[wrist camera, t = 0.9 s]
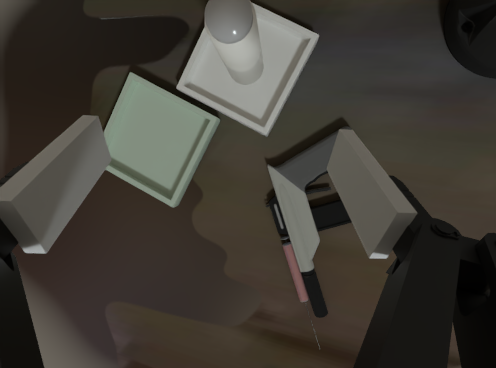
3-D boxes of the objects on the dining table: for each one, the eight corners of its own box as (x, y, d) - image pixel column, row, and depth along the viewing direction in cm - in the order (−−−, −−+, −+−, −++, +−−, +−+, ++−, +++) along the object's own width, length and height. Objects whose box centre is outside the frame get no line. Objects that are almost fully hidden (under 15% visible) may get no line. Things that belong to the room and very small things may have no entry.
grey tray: (225, -3, 37) (222, -12, 35) (317, 42, 36) (319, 35, 34) (181, 92, 39) (176, 88, 37) (267, 137, 38) (266, 135, 36)
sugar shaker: (238, 41, 37) (216, -25, 24) (270, 57, 36) (265, -2, 24) (222, 75, 38) (192, 28, 25) (253, 91, 37) (239, 51, 24)
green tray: (137, 76, 40) (130, 71, 38) (220, 120, 39) (217, 117, 37) (100, 161, 42) (91, 161, 40) (178, 205, 40) (173, 207, 38)
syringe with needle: (416, 335, 36) (313, 356, 38) (408, 325, 38) (311, 346, 40) (353, 123, 35) (249, 156, 37) (348, 125, 37) (251, 157, 39)
